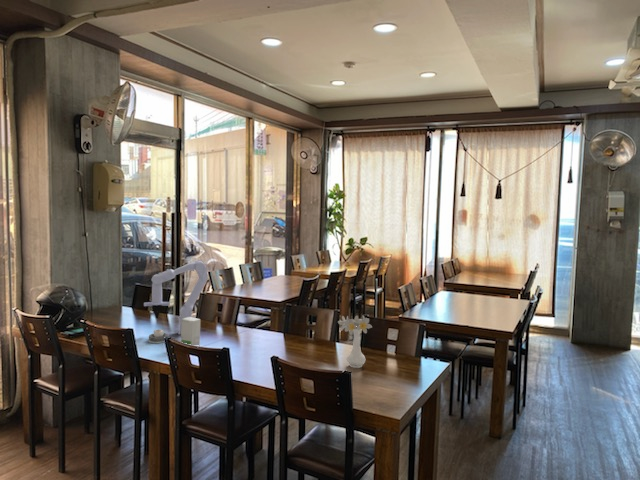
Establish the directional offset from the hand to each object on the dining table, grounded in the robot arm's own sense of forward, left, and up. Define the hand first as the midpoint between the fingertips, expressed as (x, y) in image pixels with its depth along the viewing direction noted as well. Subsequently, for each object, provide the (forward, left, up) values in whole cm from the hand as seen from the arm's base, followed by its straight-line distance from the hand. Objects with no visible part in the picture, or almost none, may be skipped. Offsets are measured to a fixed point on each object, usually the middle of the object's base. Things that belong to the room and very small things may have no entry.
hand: (157, 318), depth 285 cm
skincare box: (-20, +28, -10) cm, 36 cm away
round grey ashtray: (-2, +13, -10) cm, 16 cm away
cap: (-2, +13, -9) cm, 16 cm away
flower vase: (-99, +72, -10) cm, 123 cm away
